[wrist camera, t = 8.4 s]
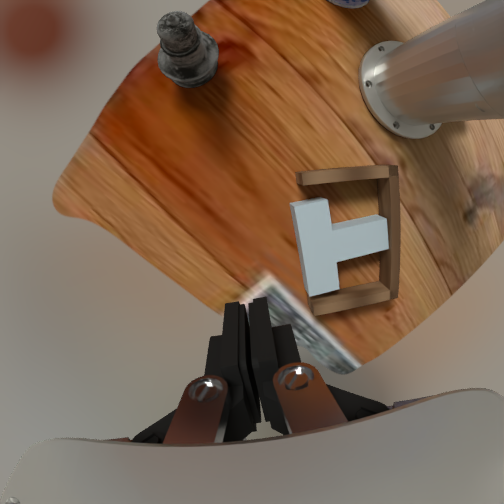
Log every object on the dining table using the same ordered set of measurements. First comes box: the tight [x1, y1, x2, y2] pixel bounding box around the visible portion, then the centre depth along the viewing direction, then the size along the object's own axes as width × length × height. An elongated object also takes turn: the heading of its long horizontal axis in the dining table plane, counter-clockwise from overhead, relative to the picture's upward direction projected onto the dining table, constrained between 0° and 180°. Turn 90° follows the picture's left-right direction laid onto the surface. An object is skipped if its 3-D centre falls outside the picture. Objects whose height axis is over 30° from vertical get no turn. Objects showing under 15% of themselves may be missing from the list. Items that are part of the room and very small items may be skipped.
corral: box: [295, 165, 400, 316], centre depth 31 cm, size 11×15×3 cm
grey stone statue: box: [157, 11, 219, 88], centre depth 20 cm, size 6×6×12 cm
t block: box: [290, 197, 389, 297], centre depth 31 cm, size 10×10×2 cm
